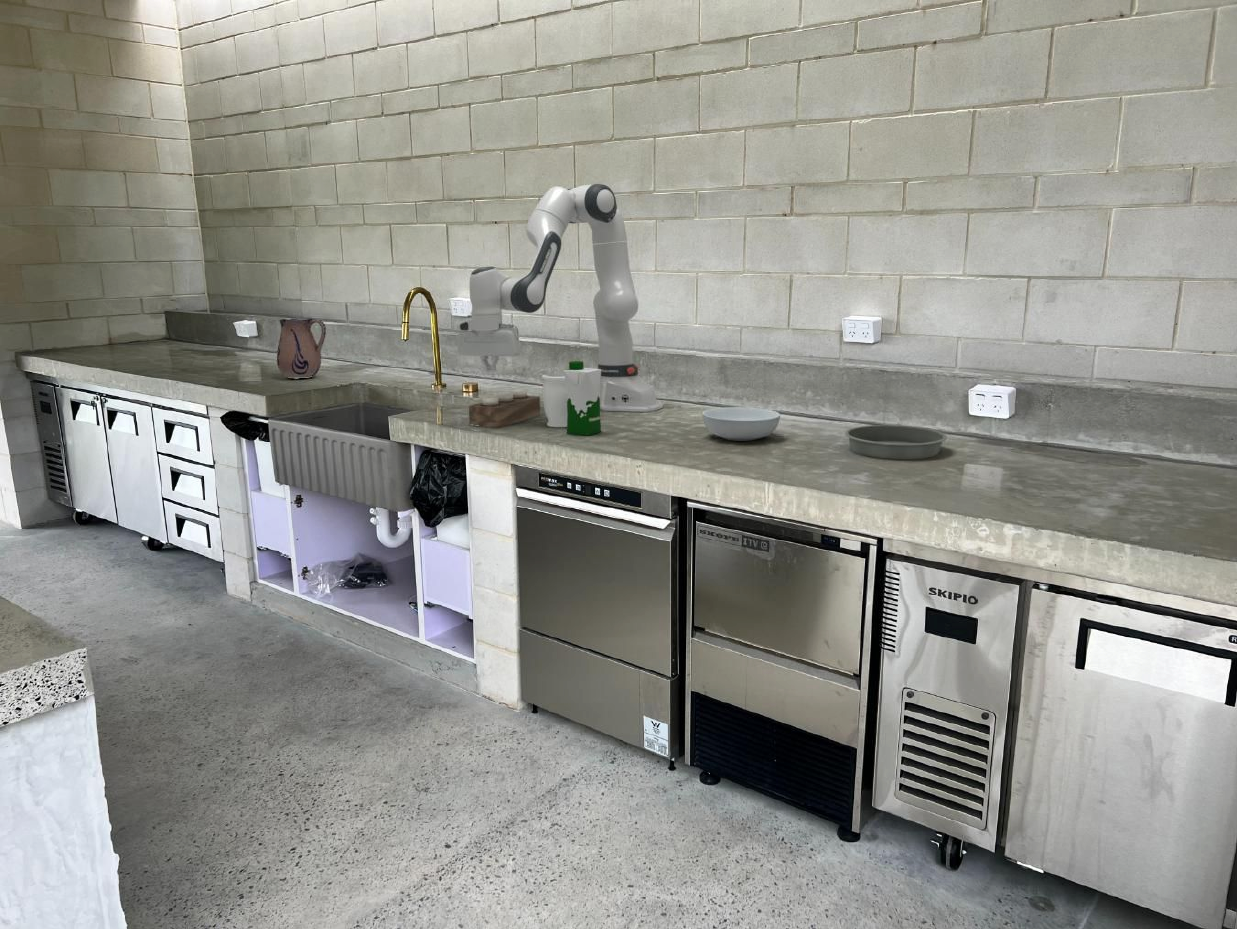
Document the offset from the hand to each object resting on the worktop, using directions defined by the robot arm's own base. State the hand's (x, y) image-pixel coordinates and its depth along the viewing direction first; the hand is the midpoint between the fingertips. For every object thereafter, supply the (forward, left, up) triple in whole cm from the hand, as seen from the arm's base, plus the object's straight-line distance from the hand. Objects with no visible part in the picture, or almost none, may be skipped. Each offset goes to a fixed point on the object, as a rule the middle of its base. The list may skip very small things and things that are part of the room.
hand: (490, 371), depth 274 cm
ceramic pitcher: (+137, -64, -16) cm, 152 cm away
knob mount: (0, -8, -16) cm, 18 cm away
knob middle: (0, -8, -14) cm, 16 cm away
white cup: (-20, -7, -16) cm, 26 cm away
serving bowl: (-75, -9, -16) cm, 77 cm away
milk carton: (-32, +1, -16) cm, 36 cm away
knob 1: (0, 0, -14) cm, 14 cm away
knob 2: (0, -16, -14) cm, 21 cm away
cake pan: (-116, -8, -17) cm, 117 cm away
